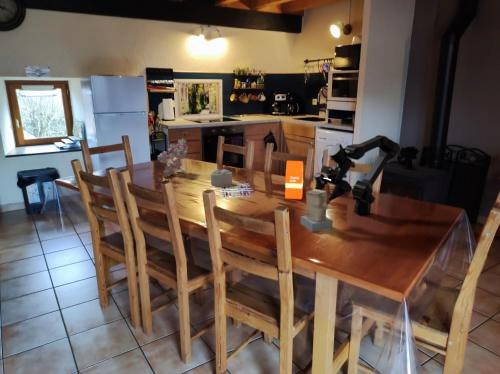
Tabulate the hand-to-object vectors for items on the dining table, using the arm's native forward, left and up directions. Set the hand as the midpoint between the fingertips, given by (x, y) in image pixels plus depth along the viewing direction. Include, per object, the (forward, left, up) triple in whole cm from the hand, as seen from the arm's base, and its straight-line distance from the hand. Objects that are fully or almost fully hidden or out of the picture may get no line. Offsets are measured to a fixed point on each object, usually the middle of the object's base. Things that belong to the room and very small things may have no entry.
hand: (321, 197), depth 158 cm
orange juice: (-4, -42, -13) cm, 44 cm away
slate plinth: (+2, +1, -13) cm, 13 cm away
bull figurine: (-10, -30, -13) cm, 34 cm away
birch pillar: (+2, +1, -9) cm, 9 cm away
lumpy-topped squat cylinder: (+30, -79, -13) cm, 86 cm away
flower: (+57, -112, -13) cm, 127 cm away
